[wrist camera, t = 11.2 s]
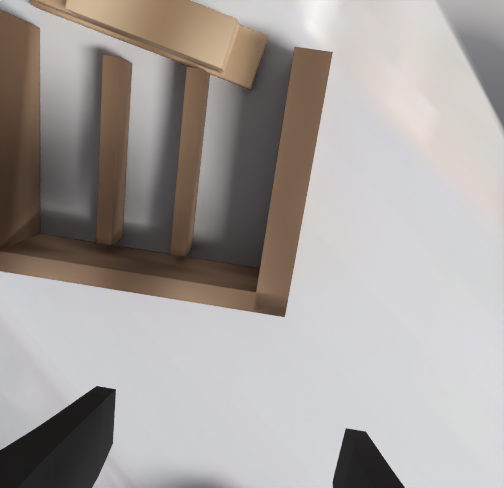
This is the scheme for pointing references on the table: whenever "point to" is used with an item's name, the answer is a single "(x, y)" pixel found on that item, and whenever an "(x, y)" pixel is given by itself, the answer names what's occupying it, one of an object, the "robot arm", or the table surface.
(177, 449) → the table surface
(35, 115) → the rack
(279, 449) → the table surface
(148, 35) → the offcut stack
